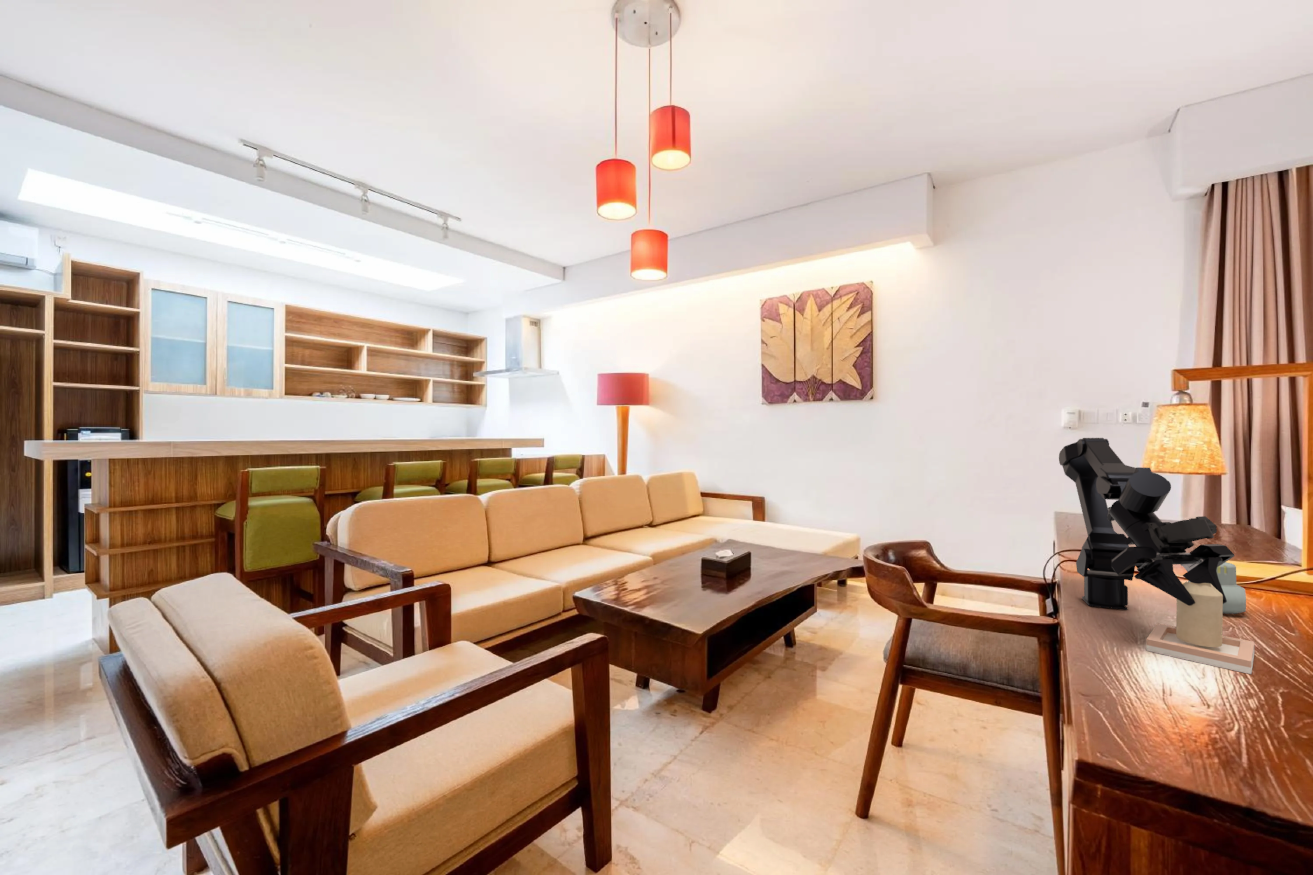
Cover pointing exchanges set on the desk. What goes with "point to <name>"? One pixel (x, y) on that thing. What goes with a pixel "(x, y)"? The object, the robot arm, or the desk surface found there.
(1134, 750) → the desk surface
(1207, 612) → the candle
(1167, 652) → the tray
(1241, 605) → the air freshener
